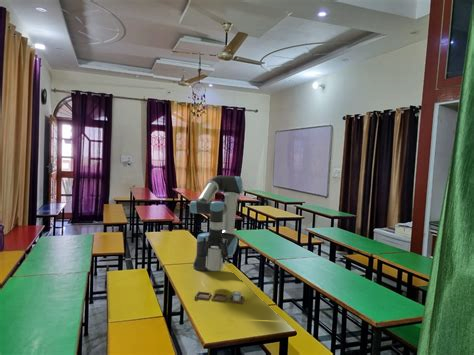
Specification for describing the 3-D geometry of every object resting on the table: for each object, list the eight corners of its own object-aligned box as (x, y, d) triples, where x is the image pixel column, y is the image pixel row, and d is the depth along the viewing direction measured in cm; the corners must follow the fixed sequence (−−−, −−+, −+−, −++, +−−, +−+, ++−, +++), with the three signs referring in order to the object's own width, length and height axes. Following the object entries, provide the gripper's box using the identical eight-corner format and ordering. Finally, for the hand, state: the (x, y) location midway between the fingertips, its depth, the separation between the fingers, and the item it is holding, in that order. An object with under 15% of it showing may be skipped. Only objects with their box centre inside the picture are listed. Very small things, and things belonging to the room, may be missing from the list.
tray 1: (198, 294, 183) (198, 291, 183) (211, 295, 182) (211, 292, 182) (194, 299, 176) (194, 296, 176) (207, 301, 175) (208, 298, 175)
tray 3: (230, 298, 181) (230, 295, 181) (244, 299, 180) (244, 296, 180) (228, 303, 174) (228, 300, 173) (242, 305, 173) (242, 302, 172)
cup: (219, 271, 190) (220, 250, 189) (205, 269, 191) (206, 248, 191) (222, 267, 198) (223, 247, 197) (209, 265, 199) (210, 245, 199)
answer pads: (201, 287, 193) (201, 287, 193) (247, 292, 189) (247, 291, 189) (198, 292, 185) (198, 292, 185) (245, 298, 181) (245, 297, 181)
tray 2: (214, 296, 182) (214, 293, 182) (227, 297, 181) (227, 294, 181) (211, 301, 175) (211, 298, 175) (225, 303, 174) (225, 300, 174)
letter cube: (232, 298, 178) (233, 290, 178) (240, 298, 179) (240, 291, 178) (232, 302, 174) (233, 294, 174) (240, 302, 174) (241, 294, 174)
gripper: (196, 228, 191) (194, 267, 192) (233, 231, 188) (231, 271, 189) (199, 225, 198) (198, 263, 200) (235, 228, 195) (233, 267, 197)
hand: (214, 267), depth 195 cm, fingers closed on cup, 8 cm apart
